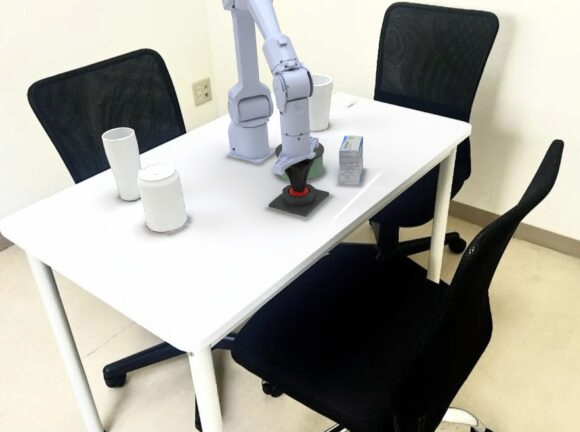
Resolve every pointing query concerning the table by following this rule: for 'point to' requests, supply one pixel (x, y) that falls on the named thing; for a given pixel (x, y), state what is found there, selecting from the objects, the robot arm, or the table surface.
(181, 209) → the beverage can
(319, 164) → the green pot
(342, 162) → the medicine box
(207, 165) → the table surface
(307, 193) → the button
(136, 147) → the drinking glass
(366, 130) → the table surface
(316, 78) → the foam cup
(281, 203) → the button base
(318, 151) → the lid
